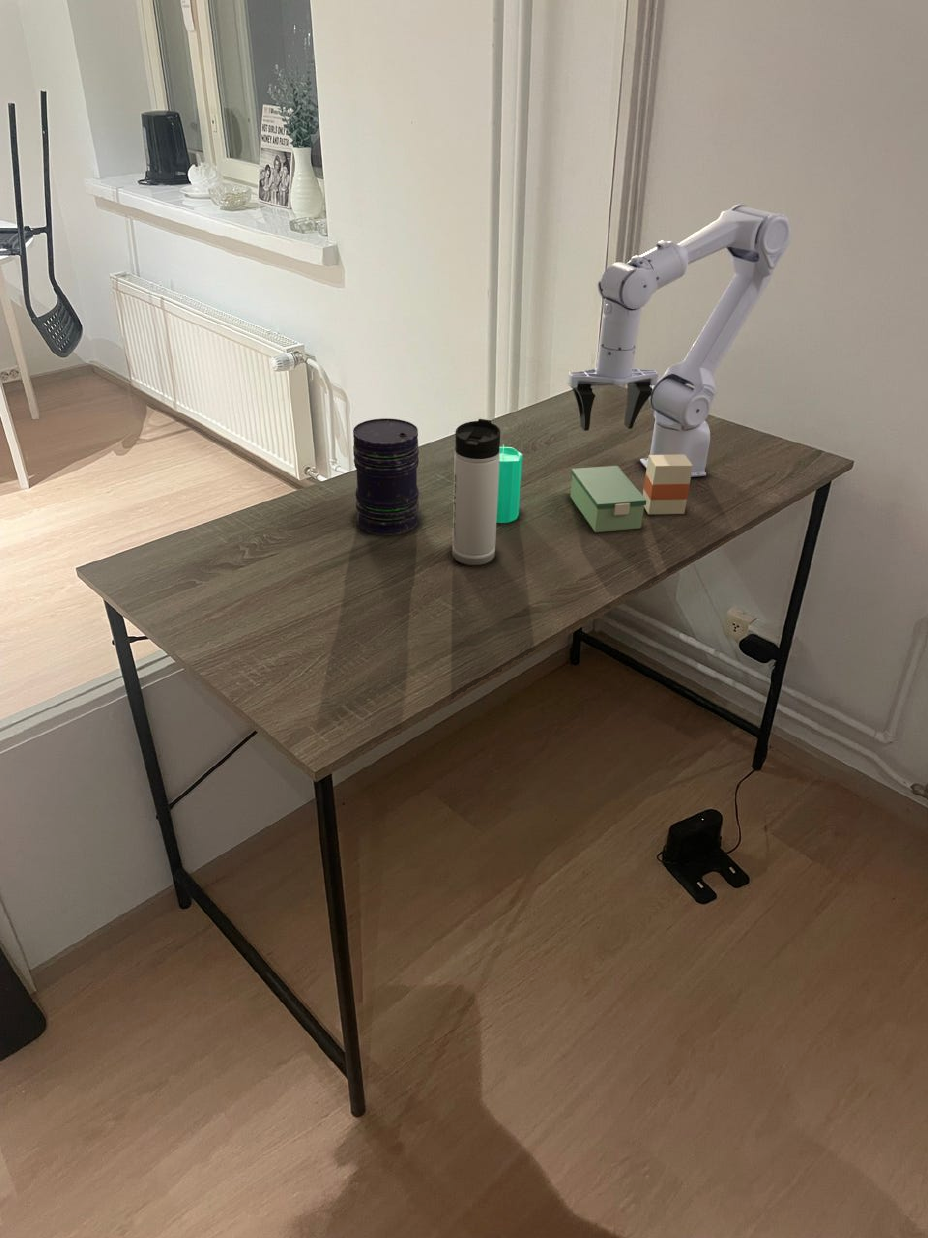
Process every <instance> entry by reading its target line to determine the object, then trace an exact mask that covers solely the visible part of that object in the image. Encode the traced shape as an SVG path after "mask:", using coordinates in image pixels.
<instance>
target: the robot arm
mask: <svg viewBox="0 0 928 1238" xmlns="http://www.w3.org/2000/svg"><path fill="white" fill-rule="evenodd" d="M791 242H792V237H791V226H790V221H789V219H788V217H787V216H786V215H784V214H782V213H777V212H775V213H774V212H770V211H766V210H762V209H758V208H753V207H750V206H747V205H746V204H741V203H740V204H736V205H733V206H732V207H731V208H729V209H726V210H723V211H721V213H720V215H719V217H718V219H716V220H715V221H712V222H711V223H709V224H708V225H706V226H705V227H703V228H701V229H700V230H698V231H697V232H695V233H694V234H692V235H690V236H688V237H687V238H686V239H684V240H682V241H680V242H678V243H677V242H675V241H672V240H664V239H662V240H660V241H658V242H656V243H655V246H656V247H653V248H652V249H650V250H648V251H646V252H644V253H642V254H640V255H637V254H636V255H634V256H632V257H631V259H630V260H629V261H628V262H627V263H625V262H620V261H617V262H615V263H613V264H611V265H610V266H608V267H607V268H606V269H605V271H604V272H603V273H602V275H601V279H600V280H598V282H597V291H598V293H599V295H600V297H601V309H602V318H601V326H600V334H599V343H598V349H597V351H598V352H597V358H596V359H597V360H596V367H595V368H591V369H585V370H579V371H569V372H568V377H567V385H568V386H569V387H570V388H571V389H572V391H573V393H574V396H575V400H576V403H577V407H578V412H579V420H580V428H581V429H582V430H583V432H587V431H589V430H590V425H591V416H592V410H593V409H592V408H593V404H594V401H595V398H596V394H595V392H593V388H592V387H594V386H626V388H627V392H626V393H627V394H626V395H627V396H626V407H625V413H624V420H623V421H624V423H623V424H624V426H625V428H627V429H628V430H632V429H633V428H634V425H635V422H636V420H637V417H638V415H639V414H640V412H641V410H642V408H643V406H644V405H645V404H646V402H647V401H648V404H649V406H650V408H651V409H652V410H653V413H652V414H653V415H652V417H653V418H654V419H655V420H654V426H653V430H652V431H653V432H652V439H651V445H650V453H649V455H680V454H685V456H686V457H687V458H688V460H689V461H690V462H691V464H692V465H693V468H692V474H691V478H695V477H706V476H707V472H705V470H706V466H707V465H706V464H707V461H708V460H707V459H708V454H709V449H710V444H711V430H710V427H709V425H708V422H707V421H706V419H707V418H708V416H709V415H710V411H711V408H712V405H713V404H712V403H713V401H714V399H715V397H716V396H717V395H718V390H717V387H716V385H715V381H714V378H713V376H714V375H715V373H716V372H717V369H718V368H719V367H720V365H721V363H722V361H723V359H724V358H725V356H726V354H727V353H728V351H729V350H730V348H731V346H732V345H733V343H734V342H735V340H736V338H737V336H738V335H739V333H740V332H741V330H742V328H743V326H744V325H745V323H746V321H747V320H748V319H749V317H750V315H751V313H752V312H753V310H754V308H755V307H756V305H757V303H758V301H759V300H760V299H761V297H762V295H763V293H764V292H765V290H766V288H767V286H768V285H769V284H770V282H771V279H772V277H773V275H774V271H775V269H776V268H777V266H778V264H779V262H780V261H781V259H782V257H783V256H784V254H785V253H786V251H787V249H788V247H789V246H790V244H791ZM724 249H725V250H726V252H727V255H728V257H729V259H730V262H731V263H732V265H733V269H734V275H733V277H732V278H731V280H730V282H729V284H728V286H727V287H726V289H725V291H724V292H723V294H722V296H721V298H720V299H719V301H718V302H717V303H716V306H715V307H714V309H713V311H712V312H711V314H710V316H709V318H708V320H707V321H706V322H705V324H704V326H703V328H702V330H701V331H700V333H699V334H698V336H697V337H696V340H695V342H694V343H693V345H692V346H691V348H690V350H689V351H688V353H687V355H686V357H685V358H684V360H682V361H681V362H677V363H674V364H672V365H670V366H668V367H667V369H666V371H665V373H664V374H663V375H662V376H661V377H660V378H659V373H658V372H657V371H656V370H655V369H644V368H643V369H642V368H634V361H635V354H636V349H637V348H636V347H637V341H638V334H639V326H640V319H641V314H642V313H641V312H642V308H643V307H644V306H646V305H647V303H648V302H649V301H650V299H651V297H652V295H653V294H655V293H656V292H657V291H658V290H659V289H662V288H663V287H665V286H668V285H669V284H671V283H672V282H675V281H676V280H678V279H680V278H682V277H683V276H685V274H686V271H687V269H688V265H692V264H693V263H695V262H697V261H699V260H701V259H705V258H706V257H709V256H711V255H712V254H715V253H717V252H719V251H721V250H724ZM687 384H688V385H687ZM692 386H693V387H692ZM639 462H640V463H641V464H642V465H643V466H644V468H645V469H647V463H648V457H646V458H640V460H639Z"/></svg>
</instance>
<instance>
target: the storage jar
mask: <svg viewBox="0 0 928 1238" xmlns="http://www.w3.org/2000/svg"><path fill="white" fill-rule="evenodd" d="M352 434H353V435H352V437H353V446H352V452H353V453H352V454H353V465H354V468H355V469H356V471H355V472H356V487H355V492H354V496H355V509H356V514H357V516H356V522H357V523H356V524H357V525H358V526H359V527H360V528H361V529H362V530H364V531H365V532H368V533H372V534H375V535H384V536H385V535H386V536H389V535H400V534H403V533H406V532H409V531H411V530H413V529H414V528H415V527H416V526H417V525H418V524H419V509H420V508H419V507H420V497H419V496H420V491H419V490H420V489H419V486H418V485H417V484H418V483H417V482H418V474H417V471H418V470H417V469H418V468H419V462H420V458H419V455H420V446H419V439H418V437H419V430H418V427H417V426H416V425H415V424H413V423H412V422H410V421H406V420H403V419H399V418H388V417H387V418H383V417H382V418H375V419H368V420H364V421H362V422H360V423H358V424H356V425H355V426H354V427H353V429H352Z"/></svg>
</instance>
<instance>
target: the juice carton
mask: <svg viewBox="0 0 928 1238" xmlns="http://www.w3.org/2000/svg"><path fill="white" fill-rule="evenodd" d="M647 458H648V463H647V468H645V469H646V470H645V473H644V475H645V476H644V480H643V488H642V489H643V491H642V495H643V497H644V498H645V499H646V500H647V502H646V505H644V510H645V511H646V513H647V515H684V514H685V512H686V507H687V501H688V498H689V492H690V486H691V478H692V477H691V474H692V468H693V465H692V464H691V462H690V461H689V460H688V458H687V457H686V456H685V454H680V455H650V454H648V456H647Z"/></svg>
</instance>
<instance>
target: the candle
mask: <svg viewBox="0 0 928 1238" xmlns="http://www.w3.org/2000/svg"><path fill="white" fill-rule="evenodd" d="M499 456H500V458H499V478H498V498H497V518H496V524H506V523H507V524H508V523H511V522H515V521H516V520H517V519H518V517H519V515H520V504H521V503H520V502H521V500H520V499H521V486H522V484H521V483H522V469H523V453H521V452H520V451H519V450H518V449H516V448H514V447H512V446H505V444H504V443H503V444H502V446H500V455H499Z"/></svg>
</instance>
